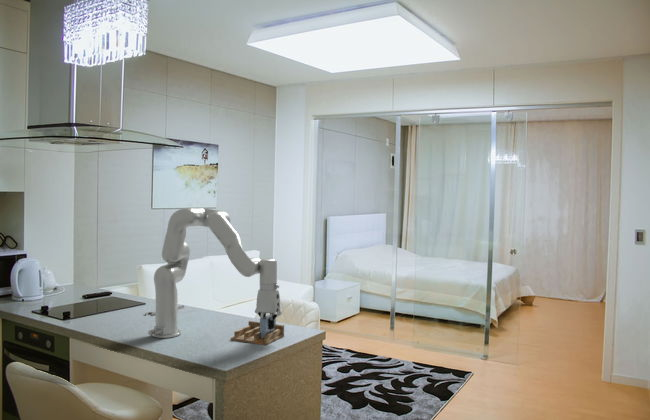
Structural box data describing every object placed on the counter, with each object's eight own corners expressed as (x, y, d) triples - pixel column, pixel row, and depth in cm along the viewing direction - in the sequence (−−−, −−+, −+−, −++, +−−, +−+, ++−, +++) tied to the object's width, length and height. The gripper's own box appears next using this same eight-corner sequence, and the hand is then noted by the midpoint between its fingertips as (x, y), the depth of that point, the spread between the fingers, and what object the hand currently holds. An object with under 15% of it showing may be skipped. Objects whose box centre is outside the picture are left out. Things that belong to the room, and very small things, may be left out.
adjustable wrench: (182, 308, 290) (182, 304, 290) (189, 309, 287) (189, 306, 287) (143, 315, 270) (143, 312, 270) (150, 317, 267) (150, 313, 266)
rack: (266, 345, 217) (266, 333, 217) (230, 340, 224) (230, 328, 224) (284, 336, 232) (284, 325, 232) (249, 331, 239) (249, 320, 239)
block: (265, 337, 222) (265, 319, 221) (259, 337, 223) (259, 318, 223) (275, 332, 230) (275, 315, 230) (269, 332, 231) (270, 314, 231)
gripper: (288, 287, 226) (288, 328, 227) (256, 284, 232) (256, 324, 233) (280, 289, 219) (280, 332, 220) (247, 286, 226) (247, 328, 226)
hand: (267, 327), depth 226 cm, fingers closed on block, 2 cm apart
